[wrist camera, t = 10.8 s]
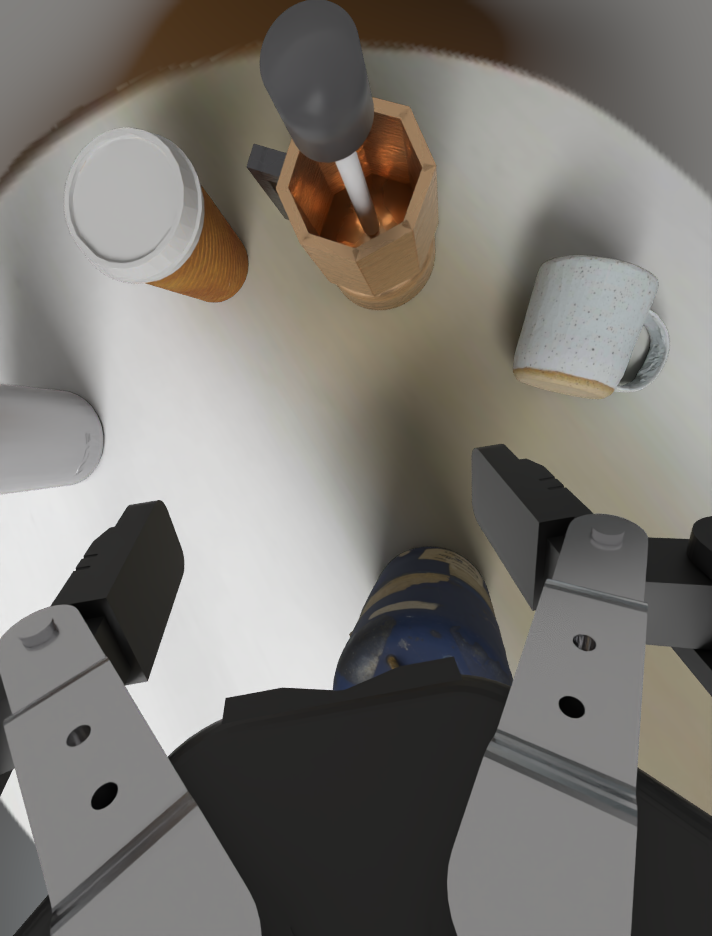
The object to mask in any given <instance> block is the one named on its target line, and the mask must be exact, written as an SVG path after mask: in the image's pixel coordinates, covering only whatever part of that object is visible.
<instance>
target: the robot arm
mask: <svg viewBox="0 0 712 936" xmlns="http://www.w3.org/2000/svg"><path fill="white" fill-rule="evenodd" d="M102 450H103V432H102V426H101V423H100V421H99V418H98V416H97V414H96V413H95V411H94V409H93V408H92V407H91V406H90V404H89V403H88V402H87V401H86V400H84V399H83V398H81V397H80V396H79V395H76V394H74V393H71V392H67V391H60V390H51V389H43V388H34V387H27V386H18V385H9V384H0V495H1V494H8V493H16V492H23V491H30V490H39V489H46V488H53V487H60V486H68V485H73V484H76V483H79V482H81V481H83V480H84V479H86V478H87V477H88V476H89V475H90V474H91V473H92V472H93V471H94V469H95V468H96V466H97V465H98V463H99V460H100V458H101V455H102ZM472 505H473V511H474V515H475V518H476V520H477V522H478V524H479V526H480V527H481V529H482V531H483V532H484V534H485V535H486V537H487V539H488V540H489V542H490V543H491V545H492V547H493V548H494V550H495V551H496V553H497V555H498V556H499V558H500V559H501V561H502V563H503V564H504V566H505V567H506V569H507V571H508V572H509V574H510V575H511V577H512V579H513V580H514V582H515V583H516V585H517V587H518V588H519V590H520V591H521V593H522V595H523V596H524V598H525V599H526V601H527V603H528V604H529V606H530V607H531V609H532V611H534V610H536V612H535V615H534V618H533V621H532V624H531V627H530V630H529V633H528V636H527V640H526V643H525V646H524V649H523V652H522V655H521V658H520V661H519V664H518V667H517V670H516V673H515V676H514V679H513V683H512V686H508V685H506V684H503V683H501V682H498V681H495V680H491V679H487V678H484V677H478V676H472V675H461V674H460V672H459V669H458V666H457V664H456V661H455V658H454V656H453V657H448V658H442V659H437V660H432V661H426V662H421V663H415V664H410V665H404V666H399V667H396V668H394V669H392V670H389V671H387V672H385V673H383V674H380V675H378V676H376V677H373V678H371V679H369V680H366V681H364V682H362V683H359V684H357V685H355V686H352V687H350V688H348V689H345V690H317V689H298V688H278V689H273V690H267V691H262V692H257V693H251V694H246V695H240V696H235V697H229V698H226V700H225V706H224V713H223V719H221V720H219V721H217V722H215V723H213V724H211V725H209V726H207V727H206V728H204V729H202V730H201V731H199V732H198V733H196V734H195V735H193V736H192V737H190V738H189V739H187V740H186V741H185V742H184V743H183V744H181V745H180V746H179V747H178V748H176V749H175V750H174V751H173V752H172V753H171V754H170V755H169V756H168V757H167V755H166V754H165V752H164V750H163V749H162V747H161V745H160V744H159V742H158V740H157V739H156V737H155V735H154V734H153V732H152V730H151V729H150V727H149V725H148V724H147V722H146V720H145V719H144V717H143V715H142V714H141V712H140V710H139V709H138V707H137V705H136V704H135V702H134V700H133V699H132V697H131V695H130V694H129V692H128V690H127V689H126V687H125V685H130V684H136V683H141V682H147V681H148V679H149V676H150V673H151V670H152V667H153V664H154V661H155V658H156V655H157V652H158V649H159V646H160V643H161V640H162V637H163V634H164V630H165V627H166V624H167V621H168V618H169V615H170V612H171V609H172V606H173V603H174V600H175V597H176V594H177V591H178V588H179V585H180V582H181V579H182V576H183V573H184V556H183V551H182V548H181V545H180V542H179V540H178V537H177V534H176V532H175V529H174V526H173V524H172V521H171V518H170V516H169V513H168V510H167V508H166V506H165V504H164V503H163V502H162V501H161V500H157V501H151V502H145V503H139V504H133V505H129V506H128V507H127V508H126V510H125V511H124V513H123V514H122V516H121V518H120V519H119V521H118V523H117V524H116V526H115V527H111V528H109V529H108V530H107V531H105V532H104V533H103V534H102V535H100V536H99V537H98V538H97V539H96V540H94V541H93V543H92V544H91V546H90V547H89V549H88V550H87V552H86V553H85V555H84V559H81V561H80V562H79V564H78V565H77V567H76V571H73V573H72V574H71V576H70V577H69V579H68V580H67V582H66V583H65V585H64V587H63V588H62V590H61V591H60V593H59V594H58V596H57V597H56V599H55V600H54V602H53V603H52V605H51V606H50V607H47V608H44V609H41V610H39V611H37V612H34V613H32V614H30V615H29V616H27V617H25V618H23V619H22V620H20V621H19V622H17V623H16V624H15V625H14V626H12V627H11V628H10V629H9V630H8V631H7V632H6V633H5V634H4V635H3V636H2V637H1V639H0V796H1V793H2V791H3V789H4V787H5V785H6V783H7V781H8V779H9V777H10V774H11V772H12V770H13V769H14V768H15V770H16V774H17V778H18V782H19V785H20V789H21V793H22V797H23V800H24V804H25V808H26V812H27V815H28V819H29V823H30V827H31V830H32V834H33V838H34V842H35V845H36V849H37V853H38V856H39V860H40V864H41V867H42V872H43V875H44V879H45V883H46V886H47V890H48V896H47V897H46V898H45V899H44V900H43V901H42V903H41V904H40V905H39V906H38V907H37V908H36V910H35V911H34V912H33V913H32V914H31V915H30V917H29V918H28V919H27V920H26V921H25V923H24V924H23V925H22V926H21V927H20V928H19V929H18V930H17V932H16V933H15V934H14V935H13V936H712V816H711V815H709V814H708V813H706V812H705V811H703V810H701V809H700V808H698V807H697V806H695V805H694V804H692V803H691V802H689V801H688V800H686V799H685V798H683V797H682V796H680V795H679V794H677V793H676V792H674V791H673V790H671V789H670V788H668V787H667V786H665V785H664V784H662V783H661V782H659V781H657V780H656V779H654V778H653V777H651V776H650V775H648V774H647V773H645V772H644V771H642V770H641V769H639V768H638V767H637V764H638V749H639V734H640V719H641V704H642V689H643V673H644V658H645V644H647V645H658V646H669V647H672V649H673V650H674V651H675V652H676V654H677V655H678V656H679V657H680V658H681V660H682V661H683V662H684V663H685V664H686V666H687V667H688V668H689V669H690V671H691V672H692V673H693V674H694V675H695V677H696V678H697V679H698V680H699V682H700V683H701V684H702V685H703V686H704V688H705V689H706V690H707V691H708V693H709V694H710V695H711V696H712V516H710V517H705V518H702V519H700V520H698V521H696V522H695V523H694V525H693V528H692V532H691V535H690V539H673V538H649V537H648V536H647V534H646V533H645V531H644V530H643V529H642V528H641V527H639V526H638V525H637V524H635V523H633V522H631V521H629V520H627V519H624V518H621V517H618V516H614V515H608V514H593V513H592V512H591V511H590V510H589V509H588V508H587V507H586V506H585V505H584V504H583V503H582V502H581V501H580V500H579V499H578V498H577V497H575V496H574V495H573V494H572V493H571V492H570V491H569V490H568V489H567V488H564V485H563V484H562V483H561V482H560V481H559V480H558V479H555V477H554V476H553V475H552V474H551V473H550V472H549V471H548V470H547V469H546V468H545V467H544V466H542V465H540V464H537V463H535V462H533V461H531V460H528V459H520V460H519V459H518V458H517V457H516V456H515V455H514V454H513V453H512V452H511V451H510V450H509V449H508V448H507V447H506V446H505V445H504V444H498V445H491V446H485V447H479V448H474V449H473V452H472Z"/></svg>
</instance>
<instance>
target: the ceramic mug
mask: <svg viewBox="0 0 712 936" xmlns="http://www.w3.org/2000/svg"><path fill="white" fill-rule="evenodd" d="M658 286H659V284H658V280H657V278H656V277H655V276H654V275H653V274H652V273H650V272H649V271H647V270H645V269H643V268H641V267H639V266H637V265H634V264H632V263H628V262H624V261H621V260H617V259H611V258H604V257H596V256H588V255H570V256H564V257H557V258H553V259H551V260H549V261H547V262H545V263H544V264H542V266H541V267H540V269H539V271H538V274H537V278H536V281H535V285H534V288H533V292H532V295H531V299H530V302H529V306H528V309H527V313H526V316H525V320H524V324H523V327H522V331H521V334H520V338H519V341H518V344H517V348H516V351H515V356H514V364H513V373H514V375H515V377H516V378H517V380H519V381H521V382H523V383H525V384H528V385H531V386H534V387H538V388H541V389H545V390H549V391H553V392H557V393H562V394H566V395H571V396H576V397H582V398H589V399H603V398H605V397H607V396H609V395H611V394H612V393H613V391H616V392H632V391H638V390H641V389H643V388H645V387H646V386H648V385H649V384H651V383H652V382H653V381H654V380H655V379H656V378H657V376H658V375H659V373H660V372H661V371H662V369H663V367H664V365H665V362H666V360H667V357H668V354H669V347H670V339H669V334H668V330H667V328H666V326H665V324H664V322H663V321H662V319H661V318H660V317H659V316H658V315H657V314H656V313H655V312H654V311H652V310H651V309H650V307H651V305H652V303H653V301H654V298H655V296H656V293H657V289H658ZM643 325H645V326H646V328H647V330H648V332H649V336H650V341H651V343H650V350H649V353H648V355H647V357H646V359H645V362H644V364H643V366H642V368H641V369H640V370H639V371H638V373H637V376H636V379H634V380H633V381H632V382H630V383H627V384H625V385H623V386H619V385H618V383H619V382H620V380H621V378H622V377H623V375H624V372H625V370H626V368H627V365H628V363H629V360H630V357H631V354H632V351H633V348H634V346H635V343H636V341H637V339H638V336H639V334H640V332H641V329H642V327H643Z"/></svg>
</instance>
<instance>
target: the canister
mask: <svg viewBox="0 0 712 936" xmlns="http://www.w3.org/2000/svg"><path fill="white" fill-rule="evenodd" d="M349 635H350V639H349V640H348V642H347V644H346V646H345V648H344V650H343V652H342V654H341V656H340V659H339V661H338V664H337V668H336V672H335V676H334V683H333V690H345V689H348V688H350V687H352V686H355V685H357V684H359V683H362V682H364V681H366V680H369V679H371V678H373V677H376V676H378V675H380V674H383V673H385V672H387V671H389V670H392V669H394V668H396V667H399V666H404V665H410V664H415V663H421V662H426V661H432V660H437V659H442V658H448V657H453V656H454V658H455V661H456V664H457V666H458V669H459V672H460V674H461V675H472V676H478V677H484V678H487V679H491V680H495V681H498V682H501V683H503V684H506V685H508V686H512V683H513V678H512V674H511V671H510V669H509V665H508V661H507V657H506V651H505V648H504V645H503V641H502V637H501V634H500V630H499V626H498V623H497V621H496V617H495V614H494V610H493V606H492V603H491V599H490V596H489V592H488V589H487V586H486V584H485V582H484V580H483V578H482V576H481V575H480V573H479V572H478V570H477V569H476V568H475V567H474V566H473V565H472V564H471V563H470V562H469V561H468V560H467V559H465V558H464V557H462V556H461V555H459V554H457V553H455V552H453V551H450V550H447V549H443V548H439V547H420V548H415V549H412V550H408V551H406V552H404V553H402V554H400V555H399V556H397V557H396V558H394V559H393V560H392V561H391V562H390V563H389V564H388V565H387V566H386V567H385V569H384V570H383V571H382V573H381V575H380V576H379V578H378V581H377V582H376V584H375V586H374V587H373V589H372V591H371V593H370V595H369V597H368V599H367V601H366V603H365V605H364V607H363V609H362V612H361V615H360V618H359V620H358V622H357V624H356V626H355V628H354V630H353V631H352V632H351V633H350V634H349Z"/></svg>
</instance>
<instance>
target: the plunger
mask: <svg viewBox="0 0 712 936" xmlns="http://www.w3.org/2000/svg"><path fill="white" fill-rule="evenodd" d="M260 72H261V77H262V80H263V83H264V86H265V88H266V90H267V91H268V93H269V95H270V97H271V99H272V101H273V103H274V105H275V107H276V109H277V111H278V112H279V114H280V116H281V118H282V120H283V122H284V124H285V126H286V128H287V130H288V132H289V133H290V135H291V137H292V139H293V141H294V143H295V145H296V146H297V148H298V149H299V150H300V151H301V152H302V153H303V154H304V155H305V156H306V157H308V158H310V159H312V160H314V161H317V162H324V163H330V162H335V163H336V165H337V168H338V170H339V173H340V175H341V177H342V180H343V182H344V185H345V187H346V190H347V192H348V194H349V197H350V199H351V202H352V204H353V207H354V209H355V211H356V214H357V216H358V219H359V221H360V224H361V226H362V228H363V231H364V232H365V233H366V234H367V235H374V234H376V233H377V232H378V230H379V227H380V224H379V221H378V218H377V215H376V211H375V208H374V205H373V202H372V199H371V196H370V193H369V190H368V187H367V183H366V180H365V177H364V174H363V171H362V168H361V165H360V162H359V159H358V156H357V152H356V150H358V149H359V147H360V146H361V145H362V144H363V143H364V141H365V140H366V138H367V136H368V134H369V132H370V130H371V127H372V123H373V118H374V103H373V99H372V94H371V90H370V85H369V81H368V76H367V72H366V67H365V63H364V58H363V54H362V49H361V45H360V40H359V36H358V31H357V29H356V26H355V24H354V22H353V20H352V18H351V17H350V16H349V14H348V13H347V12H346V11H345V10H344V9H342V8H341V7H340V6H338V5H336V4H335V3H332V2H329V1H326V0H307V1H303V2H300V3H298V4H295V5H293V6H292V7H290V8H289V9H287V10H286V11H285V12H283V13H282V14H281V15H280V16H279V17H278V18H277V19H276V21H275V22H274V23H273V24H272V26H271V27H270V29H269V30H268V32H267V34H266V36H265V39H264V42H263V44H262V49H261V54H260Z"/></svg>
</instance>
